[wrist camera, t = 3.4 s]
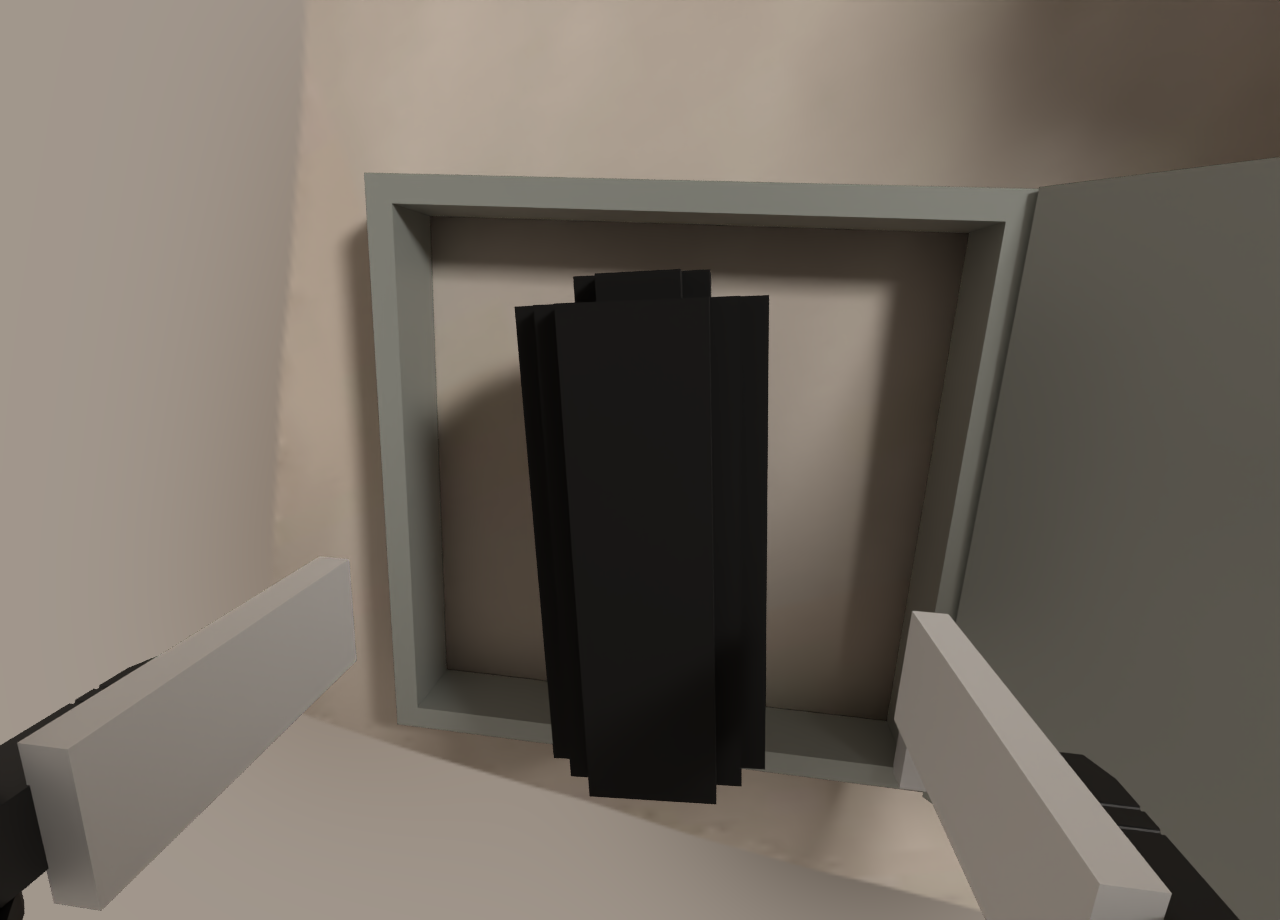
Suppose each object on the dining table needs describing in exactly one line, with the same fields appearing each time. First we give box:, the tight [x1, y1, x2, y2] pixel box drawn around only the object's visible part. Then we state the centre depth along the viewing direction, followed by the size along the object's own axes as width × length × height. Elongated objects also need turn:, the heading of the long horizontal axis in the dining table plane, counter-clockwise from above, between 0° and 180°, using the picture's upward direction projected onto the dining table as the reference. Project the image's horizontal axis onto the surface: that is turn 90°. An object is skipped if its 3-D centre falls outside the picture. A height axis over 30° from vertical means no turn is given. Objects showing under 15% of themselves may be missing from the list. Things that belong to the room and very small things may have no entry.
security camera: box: [515, 269, 769, 804], centre depth 22 cm, size 7×18×10 cm, turn 2°
